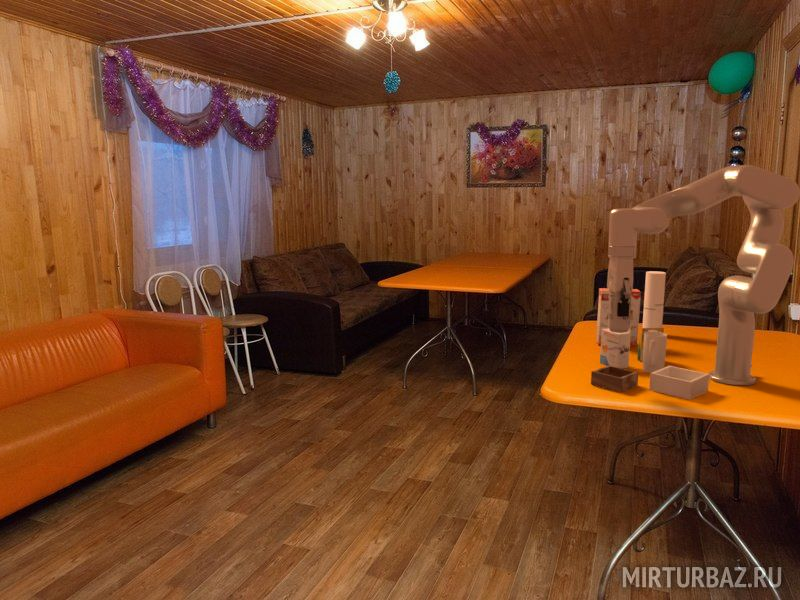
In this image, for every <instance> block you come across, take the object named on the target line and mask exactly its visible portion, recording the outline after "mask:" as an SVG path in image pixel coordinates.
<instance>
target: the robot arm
mask: <svg viewBox="0 0 800 600" xmlns="http://www.w3.org/2000/svg"><path fill="white" fill-rule="evenodd" d="M732 197H742V200H743V202H744V205H746V207H747V209H748V211H749V214H750V222H749V223H750V225H749V226H748V227H749V228H748V230H747V232H746V235H745V238H744V240H743V242H742V244H741V247H740V248H739V251H738V255H737V258H736V264H737V267H738V268H739V269H740V270H741V271H744V272H746V273H749V274H753V275H754V276H753V277H749V276H745V275H730V276H727V277H726V278H724V279H723V280H722V281H721V282H720V284H719V286H718V290H717V301H718V307H719V309H718V312H719V315H718V316H719V317H718V318H719V319H718V330H717V341H716V349H715V350H716V353H715V361H714V363H715V364H714V370H710V371H709V372H708V374H709V380H712V381H714V382H718V383H722V384H725V385H731V386H750V385H754V384H755V383H756V381H757V378H756V377H755V376H754V375H752V374H751V370H752V367H753V364H752V361H753V360H752V359H753V351H754V350H753V349H754V340H755V332H756V331H755V330H756V319H755V318H756V317H755V314H757V315H758V314H760V315H761V314H766V313H770V312H771V311H772V310H773V309H774V308H775V307H776V305H777V304H778V303H779V301H780V299H781V297H782V294H783V291H784V290H785V287H786V285H787V283H788V280H789V278H790V277H791V273H792V271H793V268H794V262H795V261H794V260H795V259H794V255H793V251H792V250H791V249H790V248H789V247H788V246H786V245H784V244H782V243H780V240H781V237H782V234H783V231H784V228H785V227H784V226H785V222H784V221H785V220H784V216H783V213H782V210H786V209H789V208H791V207H793V206H794V205H795V204H796V203H797V202H798V200H799V199H800V187H799V185H798V184H797V182H796V181H795V180H794V179H792V178H790V177H788V176H784V175H781V174H779V173H775V172H773V171H771V170H768V169H765V168H761V167H758V166H755V165H751V164H744V165H729V166H725V167H722V168H721V169H718V170H716V171H714V172H712V173H710V174H707V175H706V176H704V177H701V178H700V179H698V180H695V181H693V182H691V183H689V184H686V185H684V186H680V187H679V188H676V189H673V190H671V191H668V192H665V193H663V194H660V195H658V196H654V197H652V198H649V199H648V200H646V201H643V202H641V203H640V204H637V205H635V206H633V207H632V208H631V207H630V208H628V207H627V208H614V209H612V210H611V211H610V212H609V223H608V224H609V227H608V228H609V229H608V250H607V251H608V252H607V253H608V254H607V257H608V258H609V261H608V270H607V281H606V288H608V289H609V286H610V284H611V286H612V291H613V292H614V293H617V292H618V297H619V303H617V316H618V317H628V316H629V304H630V294H631V292H632V290H633V289H634V287H633V286H634V259H636V258H637V245H638V244H637V243H638V242H637V241H638V234H648V235H657V234H661V233H662V232H664V231H665V230H666V229H667V228H668V227H669V225H670V219H671V218H675V217H676V218H677V217H682V216H689V215H693V214H699V213H701V212H703V211H705V210H708V209H710V208H711V207H714V206H716V205H718V204H720V203H722V202H724V201H726V200H728V199H731V198H732ZM621 290H625V292H621ZM621 294H624V295H623V296H621Z"/></svg>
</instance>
